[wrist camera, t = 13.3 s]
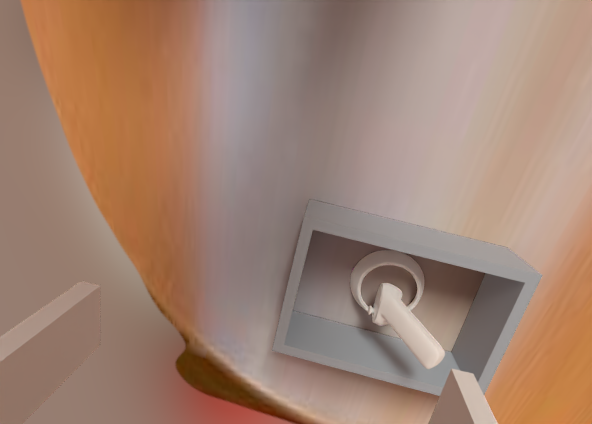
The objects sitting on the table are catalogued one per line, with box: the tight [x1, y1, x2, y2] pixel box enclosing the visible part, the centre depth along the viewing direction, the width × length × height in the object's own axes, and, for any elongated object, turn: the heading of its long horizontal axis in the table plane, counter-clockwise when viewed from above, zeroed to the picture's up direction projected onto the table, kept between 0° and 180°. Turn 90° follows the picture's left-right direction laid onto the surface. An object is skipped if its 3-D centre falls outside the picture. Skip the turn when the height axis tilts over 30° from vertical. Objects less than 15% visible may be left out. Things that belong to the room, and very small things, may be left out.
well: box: [272, 199, 542, 396], centre depth 33 cm, size 14×20×6 cm
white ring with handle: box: [350, 250, 445, 369], centre depth 33 cm, size 8×12×7 cm
